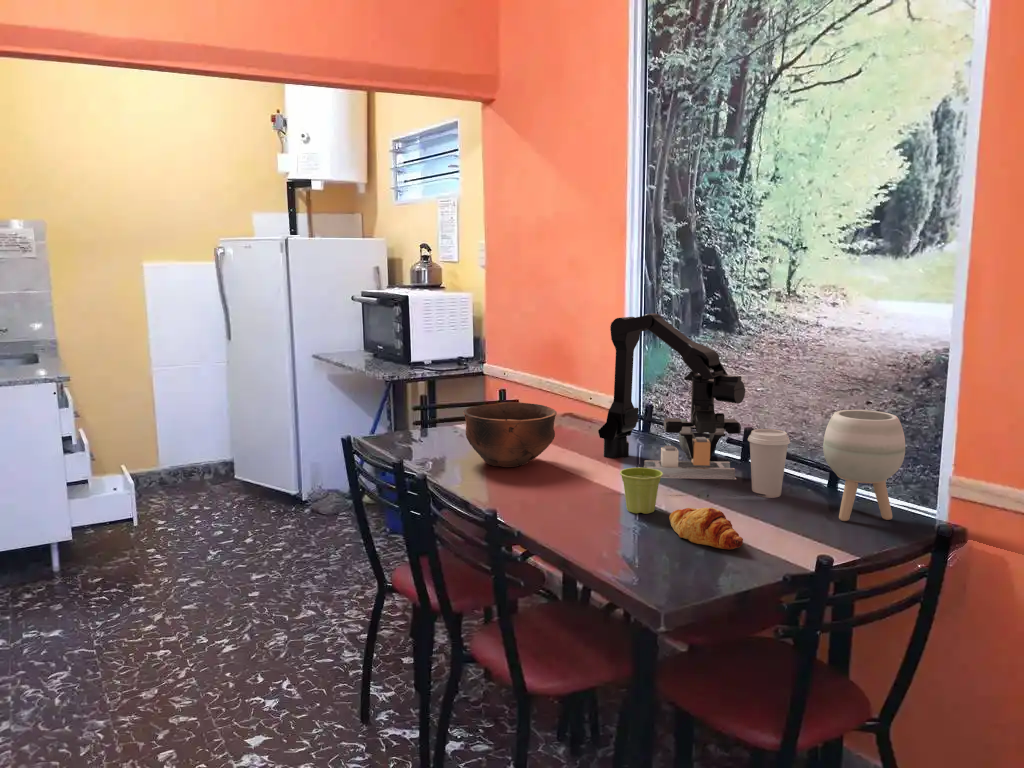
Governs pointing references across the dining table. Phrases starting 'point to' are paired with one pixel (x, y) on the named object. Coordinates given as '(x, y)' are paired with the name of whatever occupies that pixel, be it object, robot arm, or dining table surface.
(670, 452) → the block
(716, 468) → the grey tray
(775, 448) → the coffee cup
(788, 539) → the dining table surface
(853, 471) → the planter
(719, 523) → the croissant
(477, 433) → the bowl
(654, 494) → the plant pot
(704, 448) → the block
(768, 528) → the dining table surface
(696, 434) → the mortar and pestle
